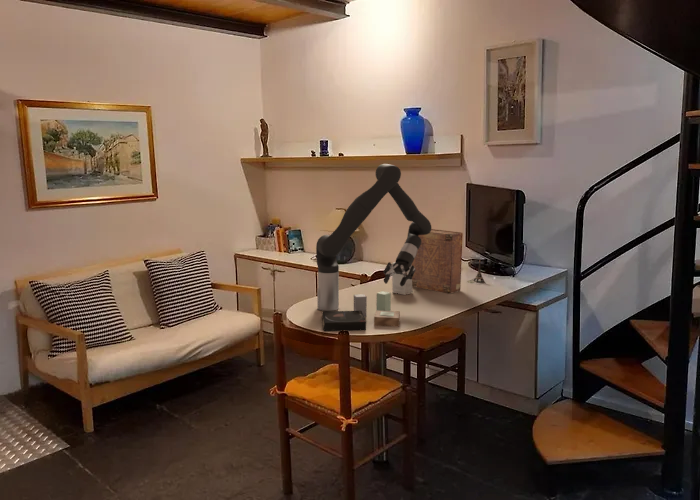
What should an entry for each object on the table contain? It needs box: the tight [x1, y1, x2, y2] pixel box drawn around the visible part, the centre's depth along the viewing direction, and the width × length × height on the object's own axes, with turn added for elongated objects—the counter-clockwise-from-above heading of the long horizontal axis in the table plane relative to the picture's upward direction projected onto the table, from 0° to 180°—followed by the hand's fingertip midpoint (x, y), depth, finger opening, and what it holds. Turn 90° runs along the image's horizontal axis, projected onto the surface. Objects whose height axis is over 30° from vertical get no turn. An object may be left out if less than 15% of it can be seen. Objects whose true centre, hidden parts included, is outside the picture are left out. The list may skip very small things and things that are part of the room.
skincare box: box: [391, 261, 413, 296], centre depth 300 cm, size 8×7×16 cm
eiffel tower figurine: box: [466, 260, 486, 286], centre depth 327 cm, size 15×10×13 cm
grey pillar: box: [353, 293, 368, 318], centre depth 260 cm, size 4×4×9 cm
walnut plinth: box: [373, 310, 401, 327], centre depth 251 cm, size 10×10×4 cm
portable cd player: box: [321, 310, 367, 332], centre depth 247 cm, size 16×17×4 cm
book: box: [412, 228, 464, 294], centre depth 309 cm, size 25×9×30 cm, turn 47°
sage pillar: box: [375, 290, 392, 311], centre depth 265 cm, size 4×4×9 cm
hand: (393, 284), depth 270 cm, fingers open, 8 cm apart
